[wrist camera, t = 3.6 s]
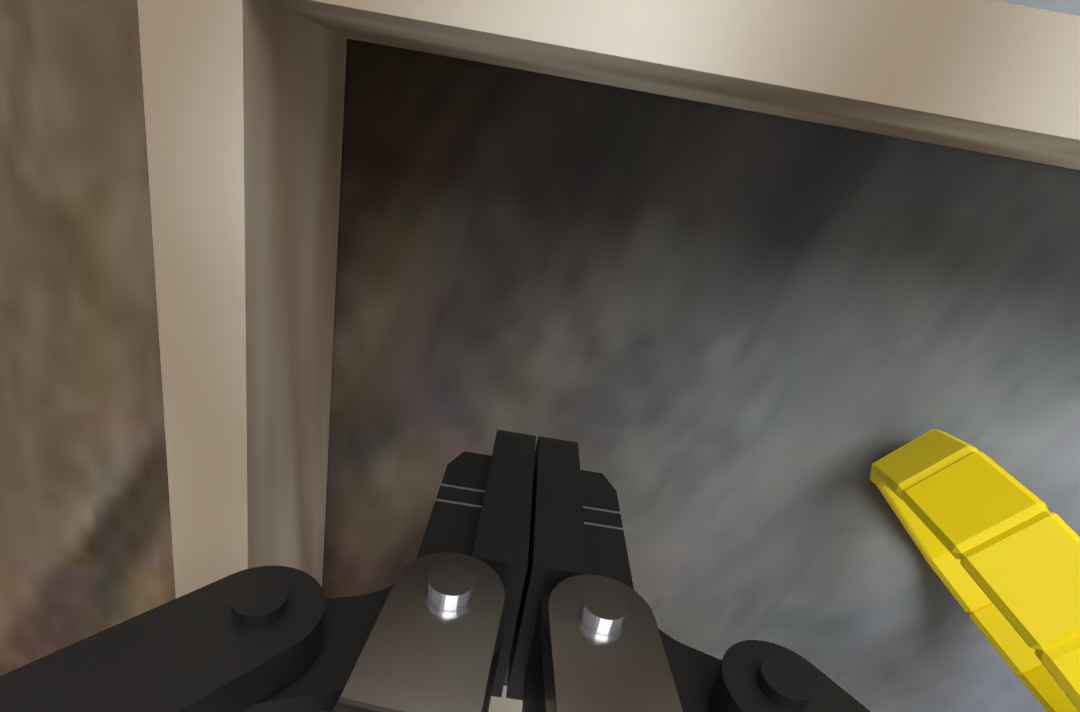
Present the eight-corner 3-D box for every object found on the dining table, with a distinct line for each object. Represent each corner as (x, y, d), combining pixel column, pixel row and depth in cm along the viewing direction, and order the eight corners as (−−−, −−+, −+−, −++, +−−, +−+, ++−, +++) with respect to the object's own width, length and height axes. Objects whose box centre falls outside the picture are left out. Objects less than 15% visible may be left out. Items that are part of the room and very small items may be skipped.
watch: (800, 439, 12) (1002, 690, 7) (925, 364, 12) (1263, 572, 6) (929, 620, 14) (1180, 946, 8) (1045, 562, 13) (1403, 874, 8)
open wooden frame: (1300, 130, 10) (1664, 126, 7) (924, 782, 16) (1021, 952, 12) (276, -58, 9) (127, -164, 6) (270, 685, 15) (191, 836, 12)
